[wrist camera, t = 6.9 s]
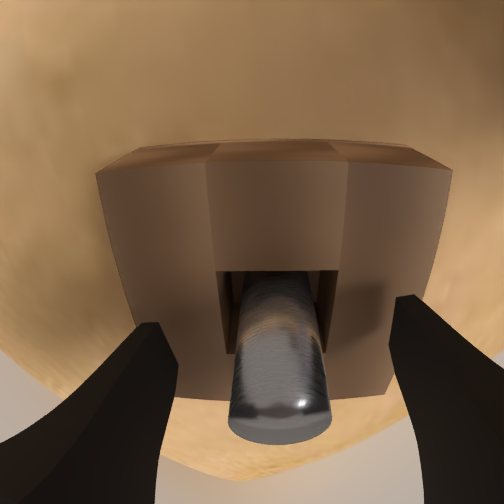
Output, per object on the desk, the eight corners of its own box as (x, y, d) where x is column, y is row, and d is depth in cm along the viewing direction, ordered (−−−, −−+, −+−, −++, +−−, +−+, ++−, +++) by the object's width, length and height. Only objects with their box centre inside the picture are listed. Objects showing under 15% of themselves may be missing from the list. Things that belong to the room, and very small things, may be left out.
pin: (304, 235, 12) (335, 391, 6) (306, 287, 13) (328, 440, 7) (241, 241, 12) (218, 399, 6) (249, 292, 13) (237, 446, 7)
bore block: (405, 145, 10) (452, 170, 7) (369, 341, 15) (384, 394, 12) (140, 147, 11) (95, 173, 8) (178, 342, 16) (163, 395, 13)
